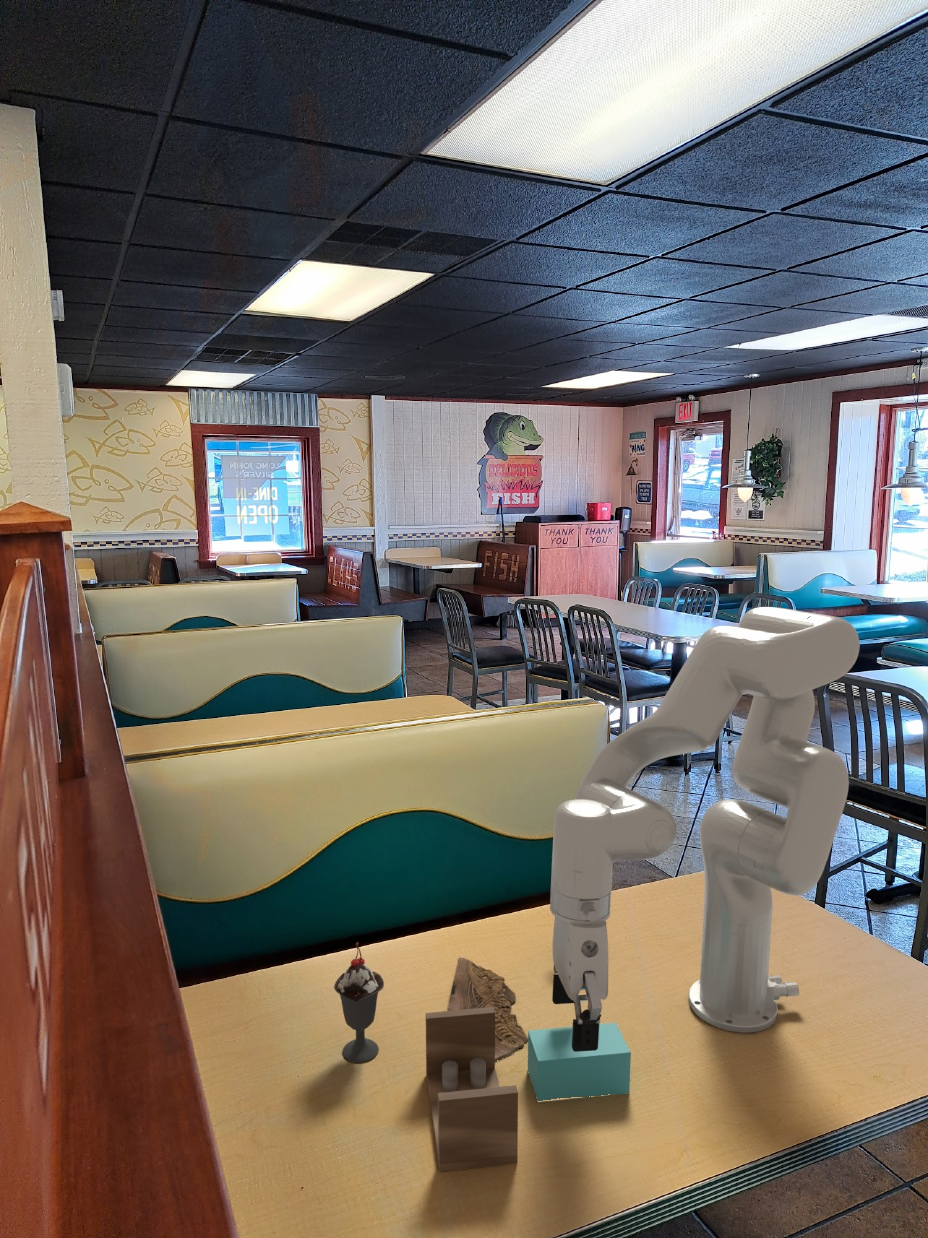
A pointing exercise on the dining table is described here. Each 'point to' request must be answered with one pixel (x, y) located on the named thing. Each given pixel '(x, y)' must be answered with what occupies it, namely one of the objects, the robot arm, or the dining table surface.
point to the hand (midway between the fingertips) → (574, 1025)
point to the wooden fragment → (488, 1003)
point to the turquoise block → (578, 1064)
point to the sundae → (359, 1007)
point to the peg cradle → (468, 1092)
